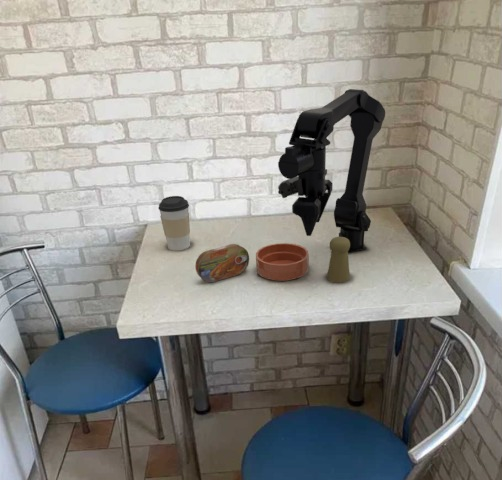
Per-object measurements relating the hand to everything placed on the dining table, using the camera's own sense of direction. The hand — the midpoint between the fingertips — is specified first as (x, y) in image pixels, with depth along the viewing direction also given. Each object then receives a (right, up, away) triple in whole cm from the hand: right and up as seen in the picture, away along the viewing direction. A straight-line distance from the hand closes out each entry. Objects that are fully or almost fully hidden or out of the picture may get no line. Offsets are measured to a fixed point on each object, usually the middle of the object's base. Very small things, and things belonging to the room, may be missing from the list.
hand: (312, 228), depth 137 cm
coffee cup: (-38, 0, +27) cm, 47 cm away
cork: (+7, -12, +4) cm, 15 cm away
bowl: (-7, -10, +9) cm, 15 cm away
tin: (-23, -12, +8) cm, 27 cm away
